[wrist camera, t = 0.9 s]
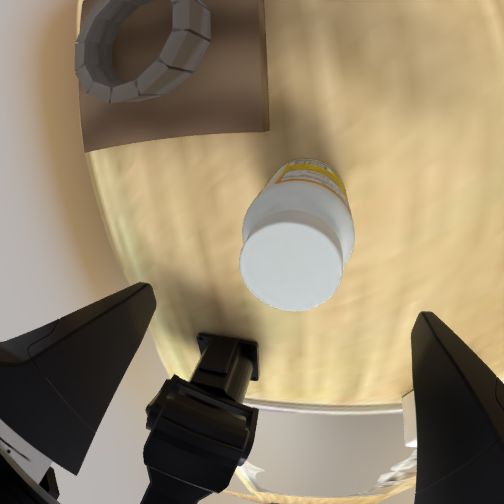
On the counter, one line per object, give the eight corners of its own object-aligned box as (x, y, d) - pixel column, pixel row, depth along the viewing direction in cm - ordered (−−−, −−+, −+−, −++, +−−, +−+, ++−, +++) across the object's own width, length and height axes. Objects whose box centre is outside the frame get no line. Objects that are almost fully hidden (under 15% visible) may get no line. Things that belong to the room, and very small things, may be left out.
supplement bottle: (318, 142, 16) (316, 171, 8) (359, 209, 18) (384, 293, 10) (253, 184, 19) (195, 246, 11) (295, 243, 20) (271, 338, 12)
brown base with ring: (269, 130, 17) (250, 135, 12) (100, 147, 20) (58, 161, 16) (260, -48, 9) (241, -81, 5) (97, 4, 13) (58, -3, 9)
